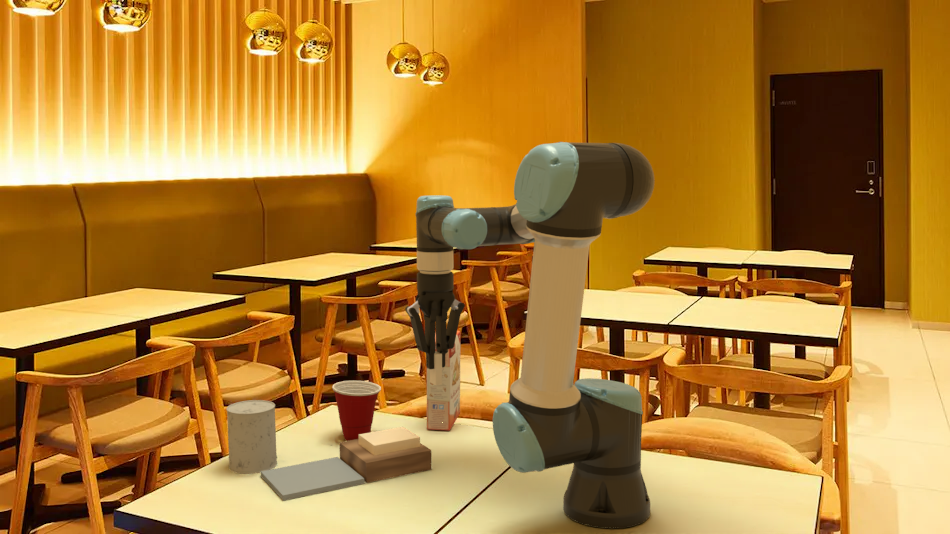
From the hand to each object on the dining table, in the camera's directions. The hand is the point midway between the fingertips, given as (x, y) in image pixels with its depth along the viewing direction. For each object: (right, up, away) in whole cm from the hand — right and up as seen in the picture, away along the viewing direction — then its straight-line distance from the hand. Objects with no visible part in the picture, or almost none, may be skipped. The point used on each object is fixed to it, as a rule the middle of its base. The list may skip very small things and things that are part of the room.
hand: (435, 383), depth 178 cm
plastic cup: (-18, -14, +13) cm, 26 cm away
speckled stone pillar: (-37, -16, -4) cm, 41 cm away
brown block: (-10, -16, -4) cm, 19 cm away
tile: (-9, -12, -4) cm, 16 cm away
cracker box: (+1, -13, +24) cm, 27 cm away
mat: (-23, -17, -12) cm, 31 cm away
